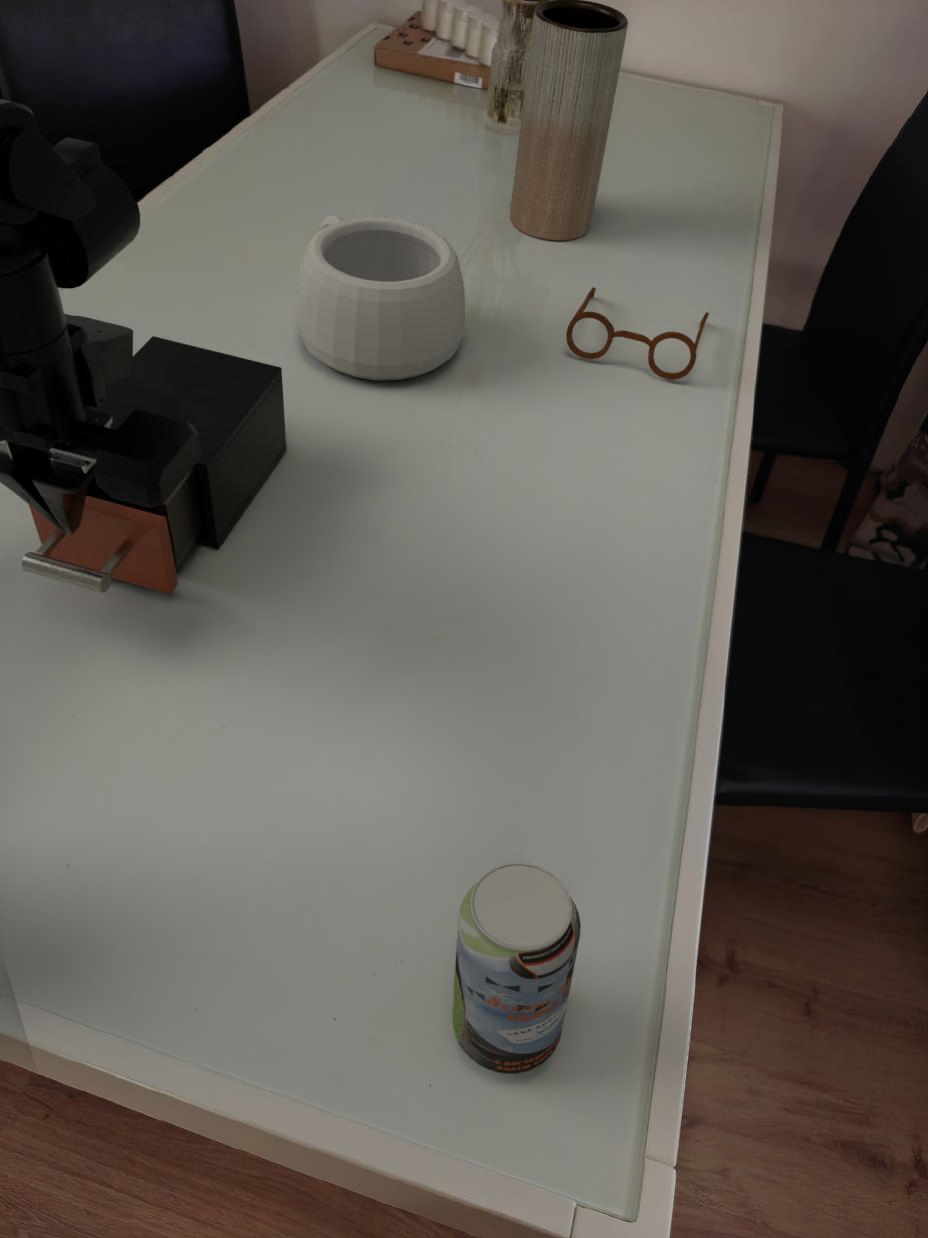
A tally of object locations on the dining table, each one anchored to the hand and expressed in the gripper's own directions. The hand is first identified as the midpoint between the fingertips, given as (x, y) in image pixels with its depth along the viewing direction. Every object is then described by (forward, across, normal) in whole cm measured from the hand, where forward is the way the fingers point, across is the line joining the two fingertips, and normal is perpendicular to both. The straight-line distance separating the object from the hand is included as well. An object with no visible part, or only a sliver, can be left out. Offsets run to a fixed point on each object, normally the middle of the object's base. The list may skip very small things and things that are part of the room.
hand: (71, 529), depth 68 cm
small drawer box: (+8, 0, -16) cm, 17 cm away
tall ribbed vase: (+8, -18, -75) cm, 78 cm away
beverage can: (+8, -37, +20) cm, 42 cm away
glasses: (+8, -32, -53) cm, 63 cm away
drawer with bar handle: (+7, 0, -6) cm, 9 cm away
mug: (+8, -6, -44) cm, 45 cm away
